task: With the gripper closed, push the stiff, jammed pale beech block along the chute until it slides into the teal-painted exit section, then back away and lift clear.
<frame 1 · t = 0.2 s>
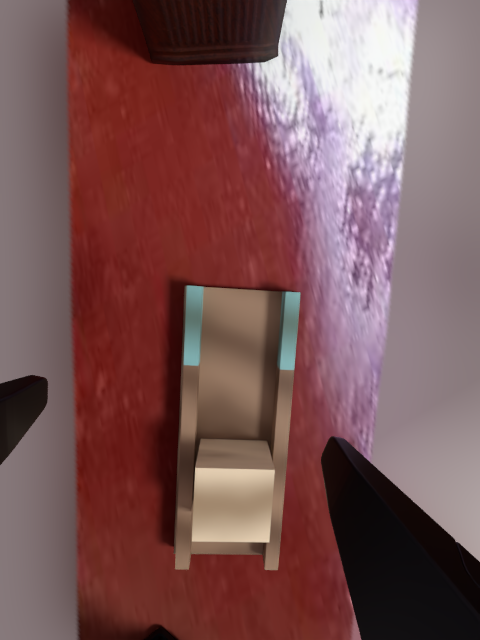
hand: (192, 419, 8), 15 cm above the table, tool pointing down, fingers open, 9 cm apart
chute: (234, 424, 24), on the table
jammed block: (232, 486, 22), point 3 cm above the table, slide at 0.0 cm
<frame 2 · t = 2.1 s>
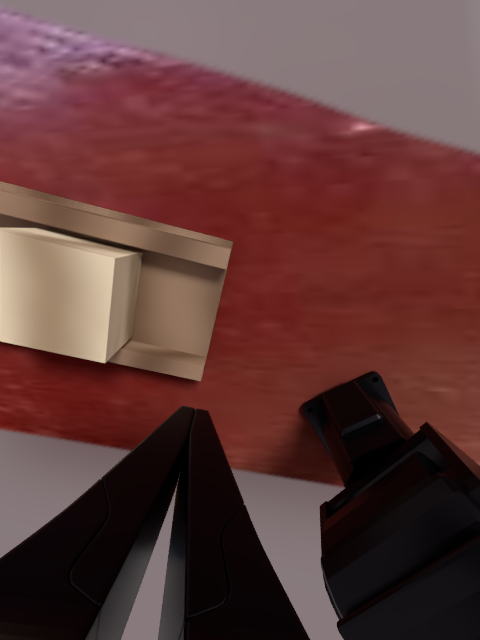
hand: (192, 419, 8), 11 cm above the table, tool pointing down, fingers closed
chute: (36, 269, 18), on the table
jammed block: (74, 292, 16), point 3 cm above the table, slide at 0.0 cm
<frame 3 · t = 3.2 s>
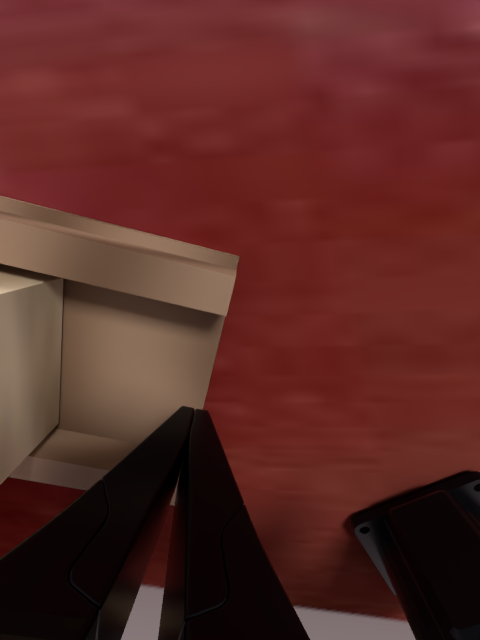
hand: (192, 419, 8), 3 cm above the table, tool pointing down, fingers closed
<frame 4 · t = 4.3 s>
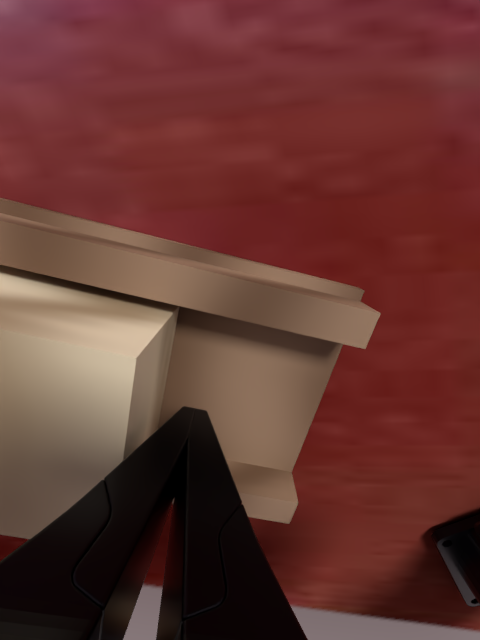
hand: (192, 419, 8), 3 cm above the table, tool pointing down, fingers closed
chute: (6, 335, 10), on the table
jammed block: (49, 394, 8), point 3 cm above the table, slide at 0.6 cm, touching gripper
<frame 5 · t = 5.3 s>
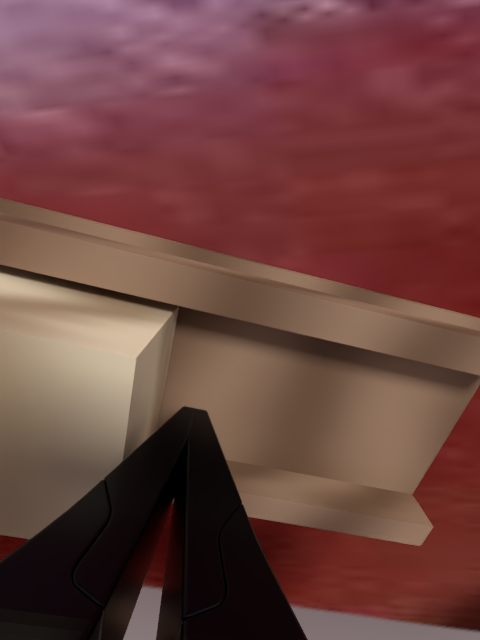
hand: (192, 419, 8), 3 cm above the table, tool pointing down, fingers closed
chute: (155, 366, 11), on the table
jammed block: (49, 393, 8), point 3 cm above the table, slide at 6.4 cm, touching gripper
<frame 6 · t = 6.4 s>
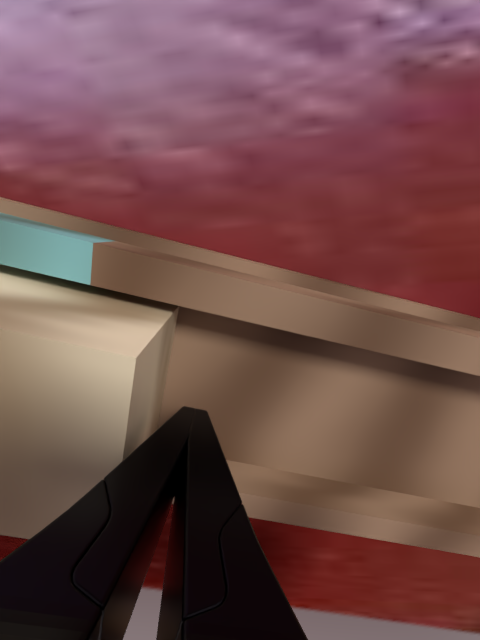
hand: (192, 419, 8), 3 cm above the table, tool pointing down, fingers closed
chute: (257, 388, 11), on the table
jammed block: (48, 393, 8), point 3 cm above the table, slide at 10.7 cm, touching gripper
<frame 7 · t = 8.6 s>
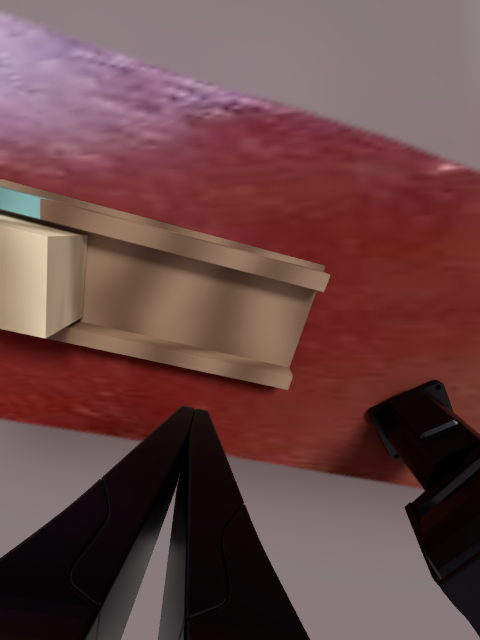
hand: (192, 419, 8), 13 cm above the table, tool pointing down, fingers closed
chute: (142, 288, 20), on the table
jammed block: (18, 271, 16), point 3 cm above the table, slide at 10.8 cm
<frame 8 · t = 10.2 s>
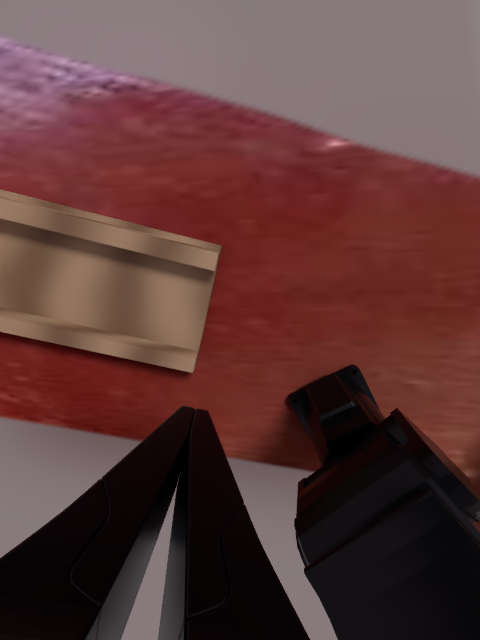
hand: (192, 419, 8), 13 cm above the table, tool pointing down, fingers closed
chute: (44, 271, 20), on the table
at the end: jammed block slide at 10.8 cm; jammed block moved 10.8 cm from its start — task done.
